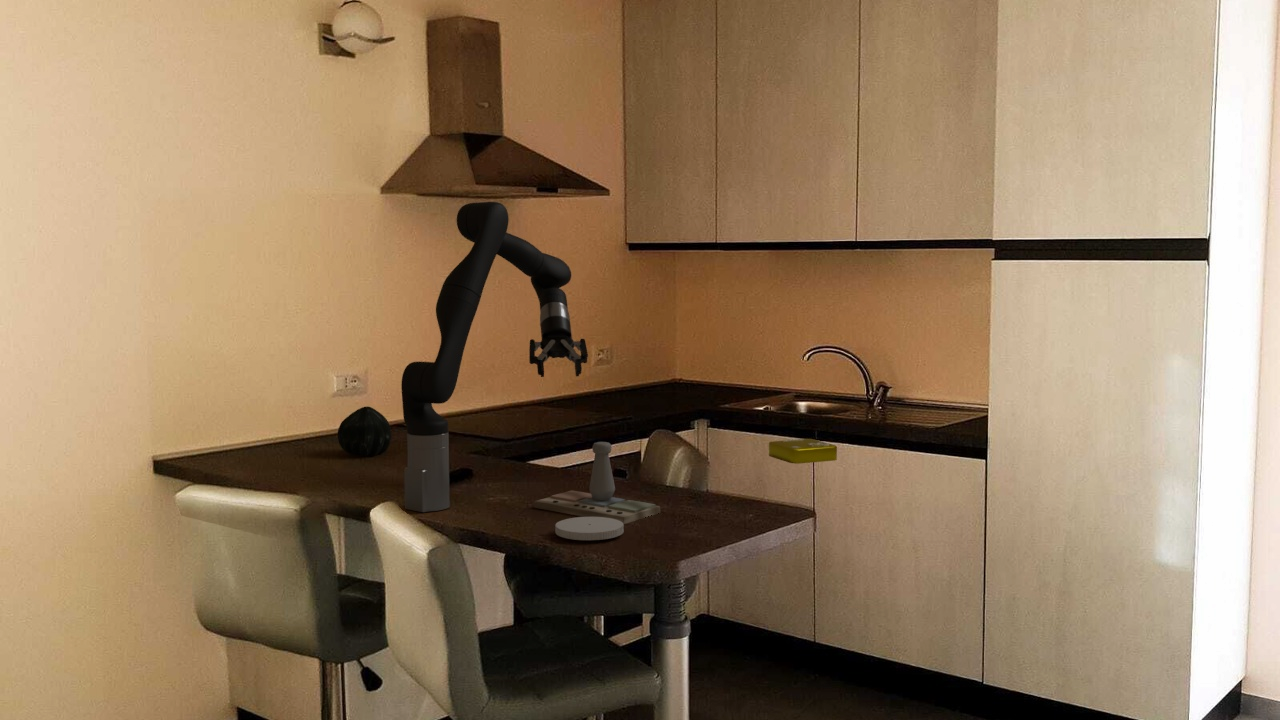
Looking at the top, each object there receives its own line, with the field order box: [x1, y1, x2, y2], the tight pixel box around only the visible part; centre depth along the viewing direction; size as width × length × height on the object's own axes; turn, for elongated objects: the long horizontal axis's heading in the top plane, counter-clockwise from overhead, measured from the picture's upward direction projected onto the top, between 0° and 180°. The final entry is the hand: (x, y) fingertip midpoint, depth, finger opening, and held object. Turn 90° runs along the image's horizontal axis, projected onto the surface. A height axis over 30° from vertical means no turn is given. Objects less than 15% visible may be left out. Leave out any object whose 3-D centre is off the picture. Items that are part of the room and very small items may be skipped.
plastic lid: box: [554, 516, 625, 541], centre depth 233 cm, size 14×14×2 cm
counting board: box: [533, 490, 661, 525], centre depth 256 cm, size 13×26×2 cm, turn 53°
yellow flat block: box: [768, 438, 838, 465], centre depth 321 cm, size 15×15×5 cm
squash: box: [337, 406, 392, 457], centre depth 326 cm, size 14×15×15 cm
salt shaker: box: [588, 441, 616, 501], centre depth 257 cm, size 6×6×13 cm
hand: (560, 374), depth 276 cm, fingers open, 8 cm apart
